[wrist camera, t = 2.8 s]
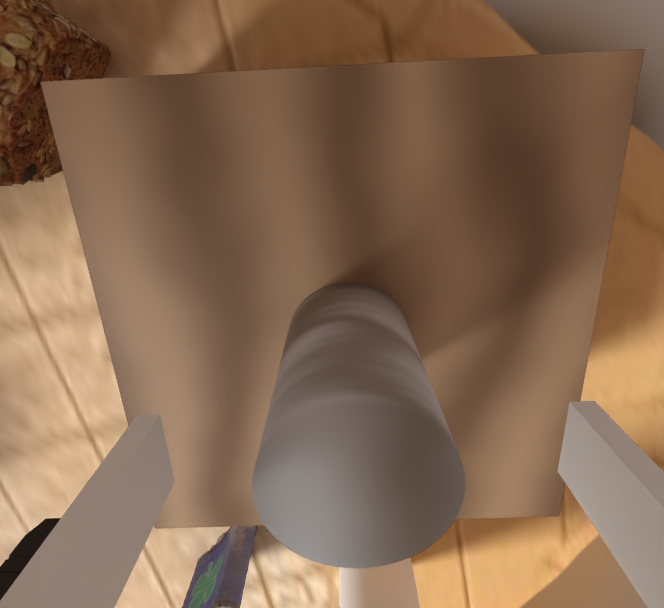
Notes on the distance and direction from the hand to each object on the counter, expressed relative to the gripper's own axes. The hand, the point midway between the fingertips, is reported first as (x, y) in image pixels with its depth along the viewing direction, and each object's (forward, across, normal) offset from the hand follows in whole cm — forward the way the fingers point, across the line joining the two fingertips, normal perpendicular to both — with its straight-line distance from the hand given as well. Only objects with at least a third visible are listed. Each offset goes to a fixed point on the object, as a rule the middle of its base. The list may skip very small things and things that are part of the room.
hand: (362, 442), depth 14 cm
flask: (+21, +14, +29) cm, 38 cm away
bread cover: (+21, 0, 0) cm, 21 cm away
